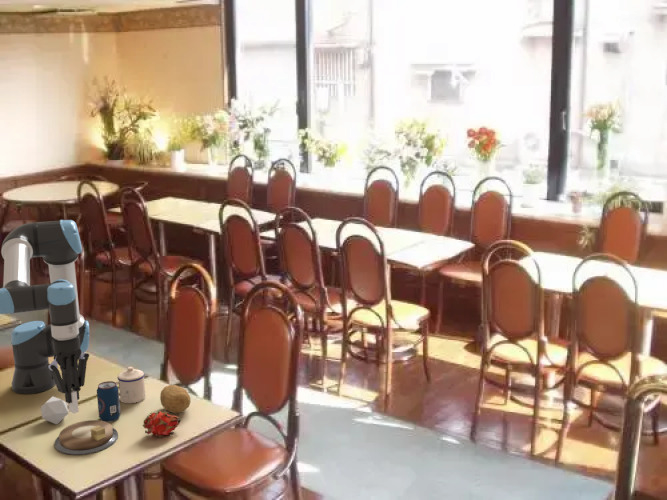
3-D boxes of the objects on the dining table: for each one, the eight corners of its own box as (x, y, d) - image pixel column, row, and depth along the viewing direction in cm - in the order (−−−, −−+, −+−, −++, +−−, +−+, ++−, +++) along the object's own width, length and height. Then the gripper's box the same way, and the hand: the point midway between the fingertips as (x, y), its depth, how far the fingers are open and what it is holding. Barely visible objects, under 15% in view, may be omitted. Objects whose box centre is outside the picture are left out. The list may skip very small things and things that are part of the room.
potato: (180, 399, 282) (179, 378, 280) (197, 414, 270) (196, 391, 268) (154, 406, 276) (152, 385, 274) (170, 421, 265) (168, 399, 263)
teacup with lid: (141, 391, 289) (139, 360, 286) (149, 400, 281) (147, 369, 279) (108, 398, 283) (105, 367, 280) (115, 408, 276) (112, 376, 273)
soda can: (96, 417, 269) (92, 384, 266) (115, 411, 273) (112, 378, 270) (104, 424, 264) (100, 390, 261) (124, 418, 268) (121, 385, 265)
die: (75, 421, 268) (70, 393, 271) (59, 419, 260) (55, 391, 263) (53, 429, 269) (50, 401, 273) (37, 427, 261) (33, 398, 265)
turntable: (49, 440, 252) (47, 425, 251) (92, 421, 264) (91, 407, 263) (79, 455, 242) (78, 439, 241) (123, 435, 254) (122, 420, 253)
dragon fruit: (140, 441, 255) (178, 439, 260) (145, 436, 248) (184, 434, 253) (140, 414, 258) (177, 413, 263) (144, 408, 251) (182, 407, 256)
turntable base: (42, 443, 252) (42, 441, 252) (94, 421, 266) (94, 419, 266) (78, 461, 240) (78, 459, 240) (130, 437, 255) (130, 435, 255)
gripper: (53, 345, 227) (61, 422, 233) (92, 332, 237) (99, 407, 243) (38, 339, 232) (47, 416, 237) (77, 327, 242) (85, 401, 247)
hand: (73, 411), depth 240 cm, fingers closed
